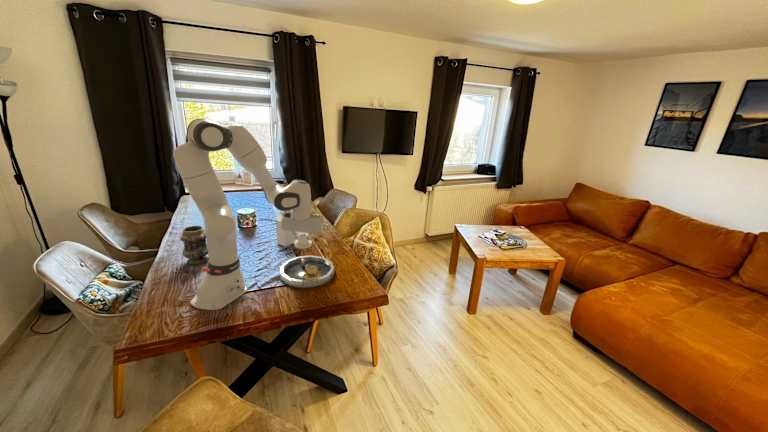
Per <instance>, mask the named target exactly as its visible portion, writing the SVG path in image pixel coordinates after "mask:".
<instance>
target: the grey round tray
mask: <svg viewBox="0 0 768 432" xmlns="http://www.w3.org/2000/svg"><path fill="white" fill-rule="evenodd" d="M279 270H280V271H279V278H280V281H281V282H282V283H283V284H284V285H286V286H287V287H288V286H289V287H291V288H296V289H312V288H317V287H320V286H323V285H326V284H327V283H329V282H330V281H331V280H332V279H333V278H334V276H335V275H334V274H335V266H334V264H333V261H331V260H330V259H328V258H326V257H324V256H319V255H317V256H316V255H302V256H301V255H299V256H297V257H293V258H290V259H287V260H286V261H285V262H283V264H282V265H281V266H280V267H279Z"/></svg>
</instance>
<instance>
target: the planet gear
mask: <svg viewBox="0 0 768 432" xmlns="http://www.w3.org/2000/svg"><path fill="white" fill-rule="evenodd" d="M308 236H309V233H308V232H299V233H298V234H297V238H298V239H295V240H294V243H293V244H294V248H296V249H299V250H300V249H308V248H311V247H312V245H313V241H312V239H311V240H307V237H308Z"/></svg>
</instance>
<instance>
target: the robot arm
mask: <svg viewBox="0 0 768 432" xmlns="http://www.w3.org/2000/svg"><path fill="white" fill-rule="evenodd" d="M225 149H227V151H229V153H230V154H231V155H232V157H233V158H234V160H235V161H236V162H237V163H238V165H240V166H241V167H242V168H243V169H244V170H245V171H247V172H248V173H250V174H252V175H253V176H254V178H255V179H256V181H257V182H258V183H259V184H260V186H261V187H262V190H263V193H264V196H265V199H266V201H267V202H268V203H269V204H271V205H272V206H273V207H275V208H276V209H277V211H281V212H282V213H283V214H282V216H283V218H282V220H281V229H282V230H284V231H292V233H293V235H294V240H298V238H297V235H298V234H297V232H299V233H307V234H308V237H307V240H311V241H312V235H314V234H322V233H323V232H324V217H323V215H321V214H314V213H312V205H311V200H312V193H311V191H312V190H311V186H310V183H309V182H307V181H305V180H302V179H293V180H292V181H291V182H289V184H287V185H286V186H283V185H282V184H281V183H279V182H277V181H276V180H275V179H274V177H273V176H272V174H271V173H270V172H269V170H268V168H267V166H266V164H267V160H268V159H267V155H266V154H265V152H264V149H263V147H261V145H260V144H259V142H258V141H257V139H256V138H255V137H254V136H253V135H252V134H251V132H250V131H249V130H248V129H247V128H246V127H245V125H242V124H239V123H232V124H230V125H229V124H228V126H226V127H225V126H224V125H222V124H221V123H218V122H217V121H214V120H212V119H209V118H196V119H194V120H192V121H191V122H190V123H189V124H188V126H187V128H186V135H185V143H183V144H180V145H178V146H176V148H174V150H173V159H174V162H175V165H176V168H177V171H178V173H179V175H180V177H181V179H182V181H183V184H184V186H185V187H186V189H187V191H188V194H189V195H190V197H191V199H192V200H193V202H194V204H195V205H196V207H197V208H198V210H199V213H200V214H201V217H202V219H203V225H204V230H205V233H206V244H207V249H208V254H207V257H209V261H208V262H207V266H203V267H202V268H201V272H202V273H206V274H205V275H204V276H203V277H202V279H201V281H200V283H198V286H197V287H196V293H195V296H194V297H193V298H192V299H191V300H190V302H189V303H190V305H191V306H192V307H194V308H197V309H200V310H207V311H217V310H221V309H223V308H224V307H225V306H227V305H229V304H230V303H232V302H233V301H235V300H236V299H238V298H239V297H241V296H243V295H245V293H246V292H248V288H247V286H246V283H245V279H244V276H243V272H242V270H241V267H240V266H241V260H240V256H239V255H238V254H239V252H238V251H239V250H238V243H237V242H238V241H237V237H238V236H237V234H238V233H237V229H238V228H237V219H236V217H235V214H234V212H233V210H232V207H231V206H230V203H229V200H228V198H227V196H226V193H225V192H224V190H223V187H222V184H221V183H220V181H219V179H218V176H217V173H216V172H215V169H214V167H213V165H212V163H211V161H210V157H209V156H210V152H217V151H222V150H225Z"/></svg>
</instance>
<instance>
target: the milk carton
mask: <svg viewBox="0 0 768 432" xmlns="http://www.w3.org/2000/svg"><path fill="white" fill-rule="evenodd" d="M283 213H284V212H283V211H281V212H280V214H279V215H278V216H277V218H276V219H275V226H276V227H275V229H276V230H275V231H276V244H278V245H280V246H283V247H284V248H286V247H288V246H290V245H293V244H294V242H295V236H294V235H293V233H292V231H284V230H282V229H281V220H282V218H283V216H282V214H283Z"/></svg>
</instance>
